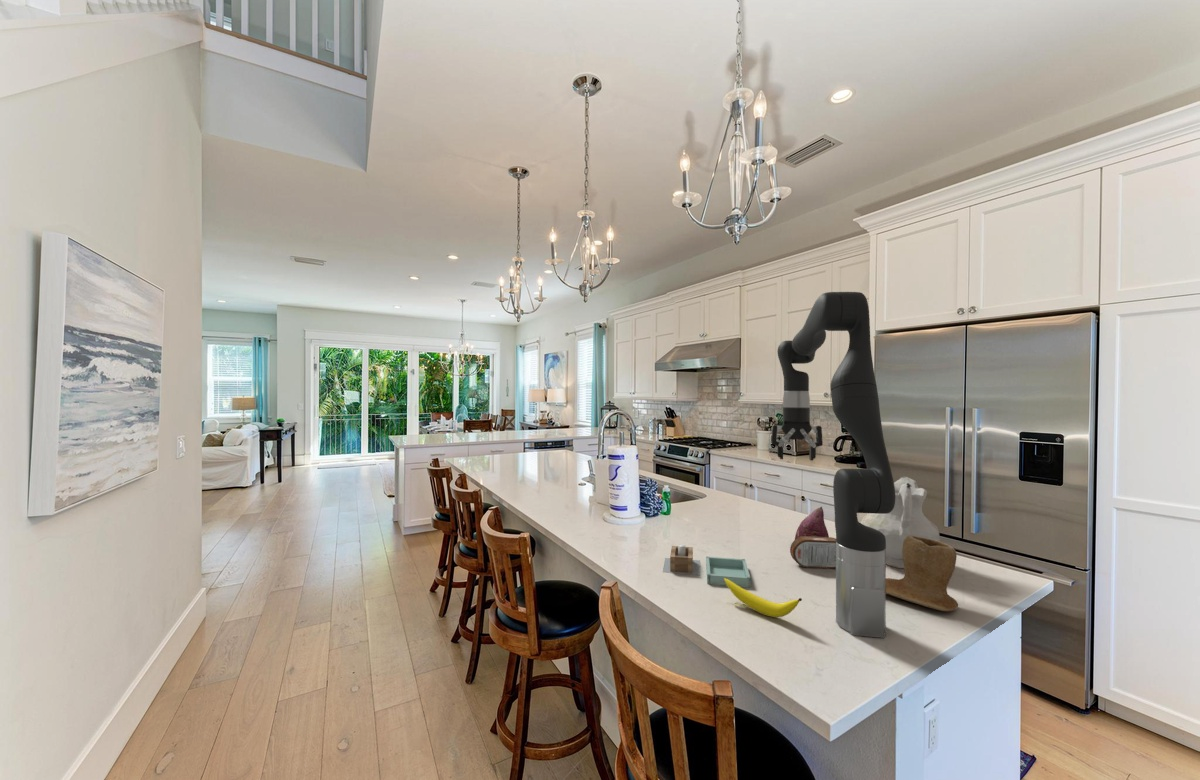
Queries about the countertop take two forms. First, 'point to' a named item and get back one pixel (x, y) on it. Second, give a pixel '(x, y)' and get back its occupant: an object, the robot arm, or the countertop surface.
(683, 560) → the stepped wooden block
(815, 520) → the vegetable
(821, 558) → the tin
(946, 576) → the brown felt boot
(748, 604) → the banana
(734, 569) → the tray
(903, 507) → the ceramic pitcher
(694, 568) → the grey plate with post
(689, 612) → the countertop surface
